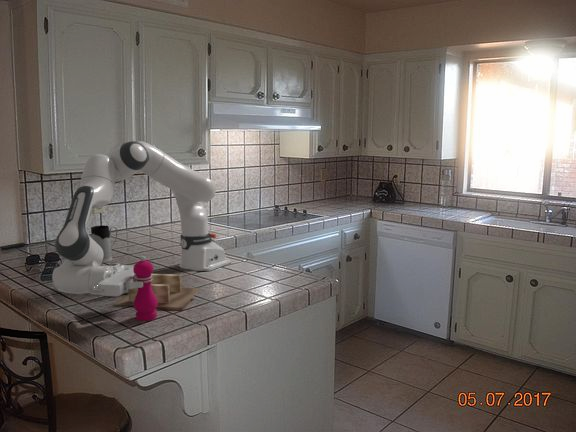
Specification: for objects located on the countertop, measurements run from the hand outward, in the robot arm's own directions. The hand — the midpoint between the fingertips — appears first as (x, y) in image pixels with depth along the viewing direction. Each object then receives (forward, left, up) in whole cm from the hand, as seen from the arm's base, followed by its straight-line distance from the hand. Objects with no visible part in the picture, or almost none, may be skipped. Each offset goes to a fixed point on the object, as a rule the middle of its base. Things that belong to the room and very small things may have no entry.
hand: (147, 281), depth 164 cm
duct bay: (-11, -14, -12) cm, 22 cm away
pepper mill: (+1, -1, -12) cm, 12 cm away
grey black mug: (-27, -78, -12) cm, 83 cm away
